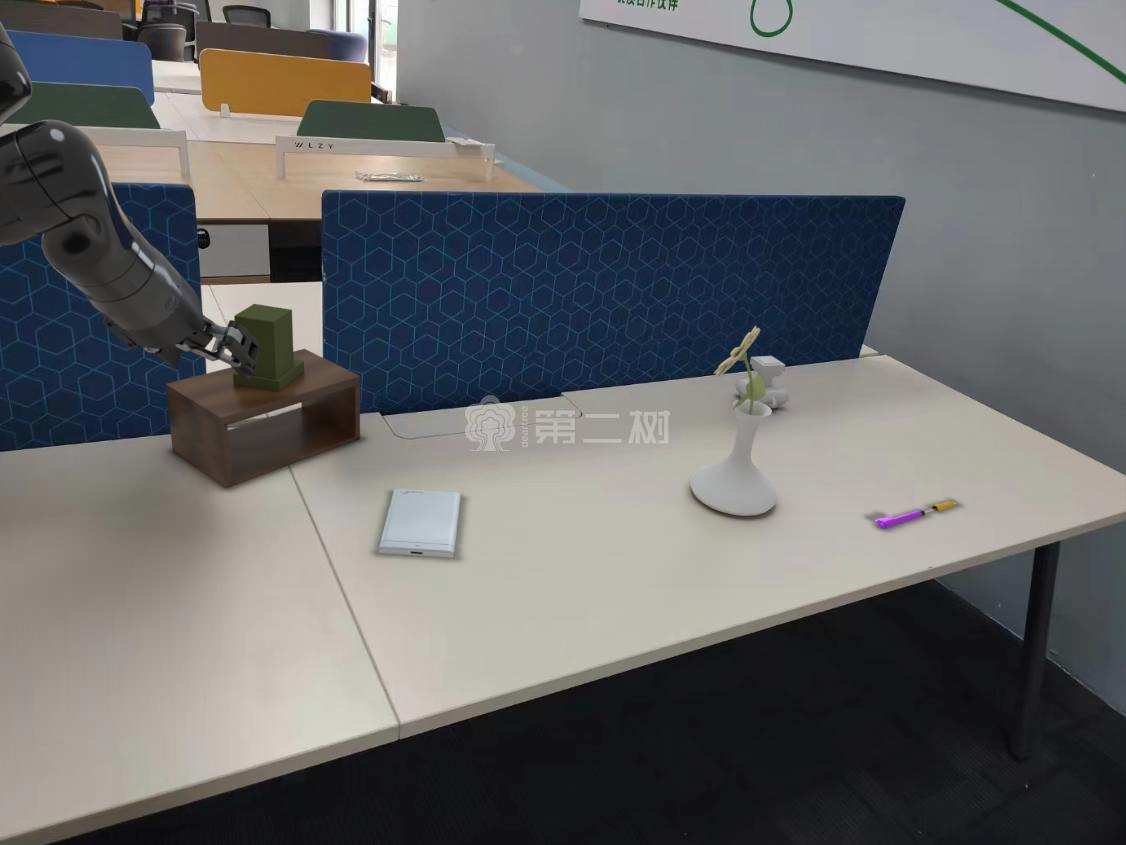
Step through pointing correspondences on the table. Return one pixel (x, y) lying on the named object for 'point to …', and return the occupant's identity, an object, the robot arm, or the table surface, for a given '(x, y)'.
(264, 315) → the green pedestal block
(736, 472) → the flower in vase
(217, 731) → the table surface
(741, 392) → the stamp
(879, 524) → the purple and yellow rod
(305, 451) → the brown wooden cubby
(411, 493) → the hard drive
